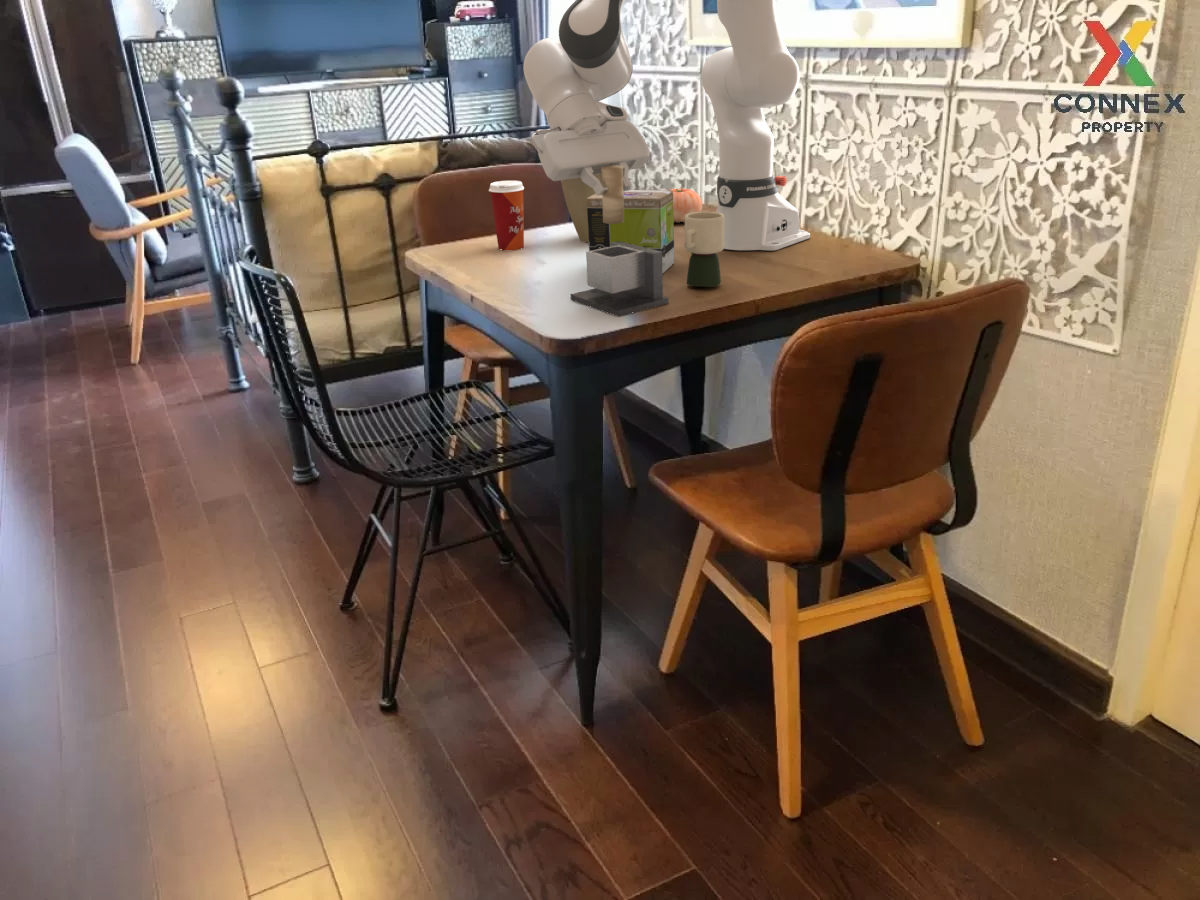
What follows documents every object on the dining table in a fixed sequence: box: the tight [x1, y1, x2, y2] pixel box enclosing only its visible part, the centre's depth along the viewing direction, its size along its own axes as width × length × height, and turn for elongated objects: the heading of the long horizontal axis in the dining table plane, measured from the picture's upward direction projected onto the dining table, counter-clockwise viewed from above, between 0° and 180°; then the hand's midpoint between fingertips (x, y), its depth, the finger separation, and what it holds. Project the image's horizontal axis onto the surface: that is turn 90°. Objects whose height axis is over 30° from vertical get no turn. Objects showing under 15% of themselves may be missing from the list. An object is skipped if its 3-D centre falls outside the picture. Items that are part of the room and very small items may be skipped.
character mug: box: [683, 211, 724, 288], centre depth 169 cm, size 11×7×13 cm, turn 140°
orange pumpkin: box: [669, 187, 703, 224], centre depth 223 cm, size 11×11×8 cm
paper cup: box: [488, 180, 525, 251], centre depth 203 cm, size 8×8×14 cm
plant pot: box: [560, 174, 602, 244], centre depth 207 cm, size 15×15×16 cm
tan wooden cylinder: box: [601, 165, 624, 224], centre depth 157 cm, size 4×4×9 cm
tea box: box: [586, 189, 675, 274], centre depth 183 cm, size 15×10×15 cm
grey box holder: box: [570, 241, 669, 317], centre depth 163 cm, size 11×14×9 cm
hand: (615, 191), depth 156 cm, fingers closed on tan wooden cylinder, 4 cm apart
